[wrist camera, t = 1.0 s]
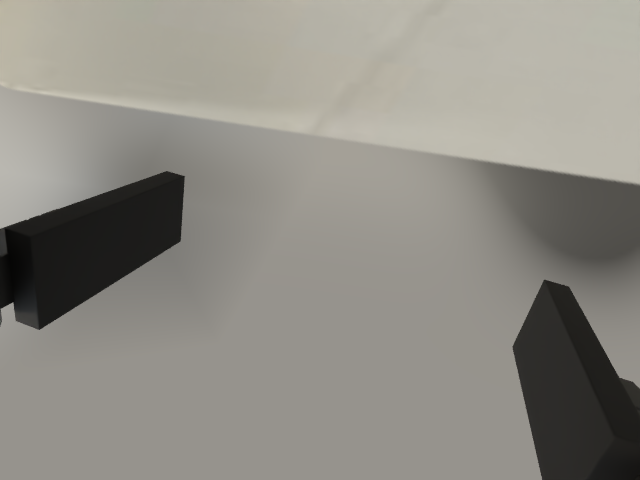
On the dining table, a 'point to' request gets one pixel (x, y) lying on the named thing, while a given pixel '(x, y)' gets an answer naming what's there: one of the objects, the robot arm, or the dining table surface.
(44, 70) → the dining table surface
